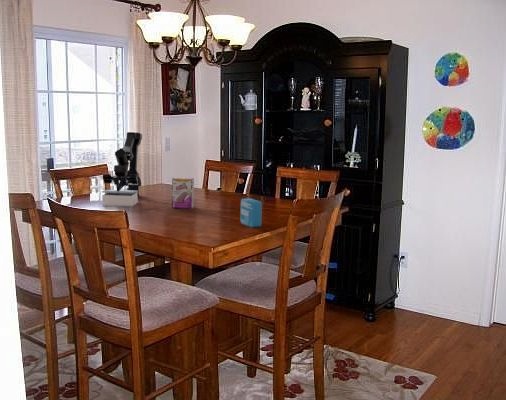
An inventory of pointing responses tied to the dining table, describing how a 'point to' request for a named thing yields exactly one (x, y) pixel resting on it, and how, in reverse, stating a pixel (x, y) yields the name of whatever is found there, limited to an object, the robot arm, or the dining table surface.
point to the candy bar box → (182, 192)
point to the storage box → (119, 199)
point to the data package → (251, 212)
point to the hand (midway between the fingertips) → (117, 190)
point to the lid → (119, 191)
